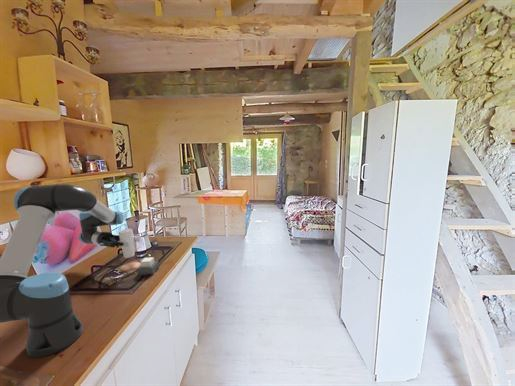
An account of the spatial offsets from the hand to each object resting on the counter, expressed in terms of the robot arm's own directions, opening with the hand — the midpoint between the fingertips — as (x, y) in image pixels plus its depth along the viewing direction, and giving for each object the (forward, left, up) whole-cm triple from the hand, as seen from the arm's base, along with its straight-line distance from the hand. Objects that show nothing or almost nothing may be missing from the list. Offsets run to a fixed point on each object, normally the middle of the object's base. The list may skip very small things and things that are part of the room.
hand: (134, 241), depth 131 cm
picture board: (-6, +5, -16) cm, 18 cm away
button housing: (+1, -8, -16) cm, 18 cm away
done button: (+1, -8, -14) cm, 16 cm away
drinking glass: (-1, +5, -9) cm, 10 cm away
